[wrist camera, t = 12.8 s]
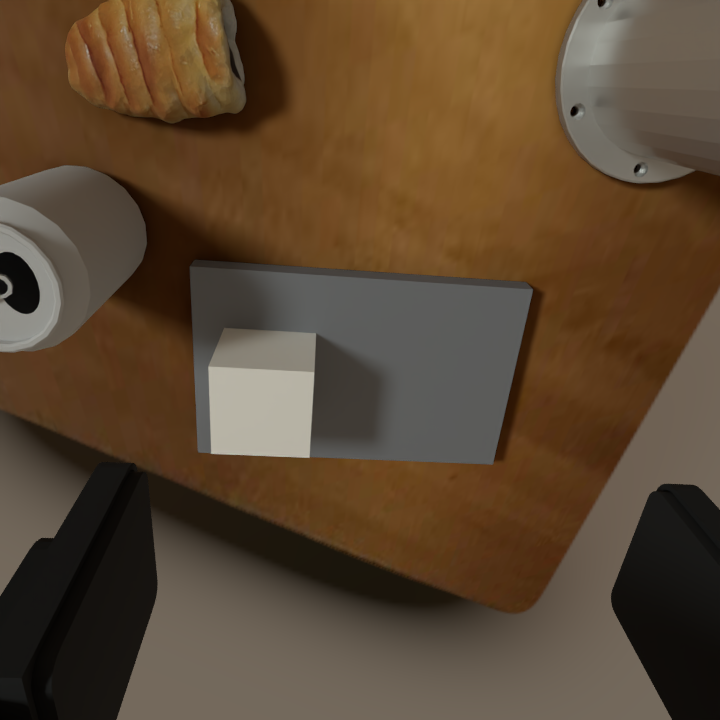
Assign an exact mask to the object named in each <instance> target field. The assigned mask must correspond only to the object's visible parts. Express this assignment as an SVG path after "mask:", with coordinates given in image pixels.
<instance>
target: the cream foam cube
mask: <svg viewBox="0 0 720 720" xmlns="http://www.w3.org/2000/svg"><path fill="white" fill-rule="evenodd" d="M315 347H316V333H303V332H286V331H269V330H252V329H235V328H224V330H223V332H222V335H221V337H220V339H219V342H218V344H217V347H216V349H215V352H214V354H213V356H212V359H211V361H210V364H209V366H208V371H209V402H210V432H211V454H229V455H254V456H279V457H303V458H309V456H310V439H311V422H312V405H313V388H314V370H315Z"/></svg>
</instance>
